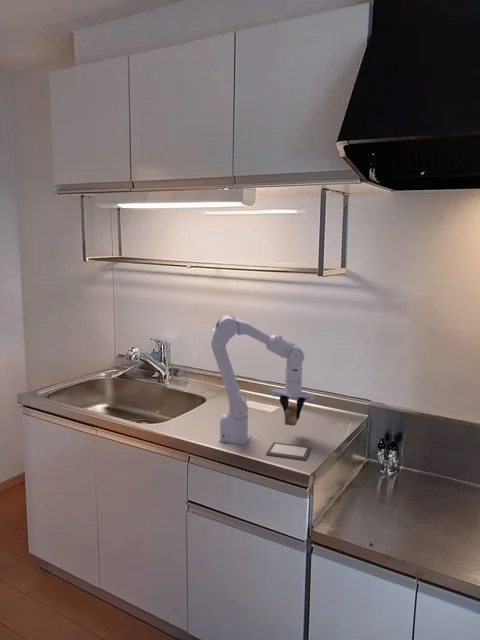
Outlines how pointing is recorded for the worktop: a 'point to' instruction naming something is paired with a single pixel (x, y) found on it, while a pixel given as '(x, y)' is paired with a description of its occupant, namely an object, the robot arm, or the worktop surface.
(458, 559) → the worktop surface
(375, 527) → the worktop surface
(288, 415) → the block
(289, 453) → the mat
